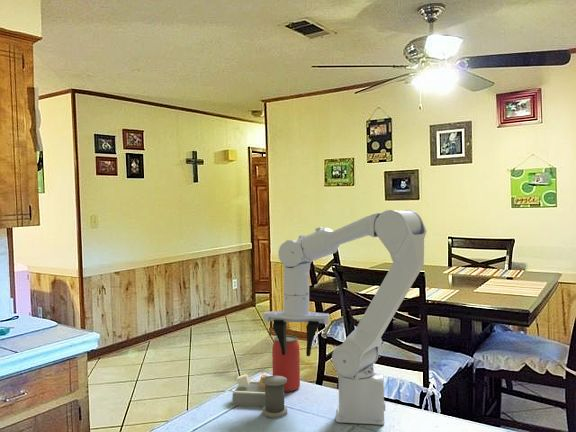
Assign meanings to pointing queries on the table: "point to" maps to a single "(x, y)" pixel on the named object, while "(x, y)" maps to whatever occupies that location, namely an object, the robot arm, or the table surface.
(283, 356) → the beer can
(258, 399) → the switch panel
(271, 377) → the cord spool
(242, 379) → the cream cube
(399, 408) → the table surface
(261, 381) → the orange cube
